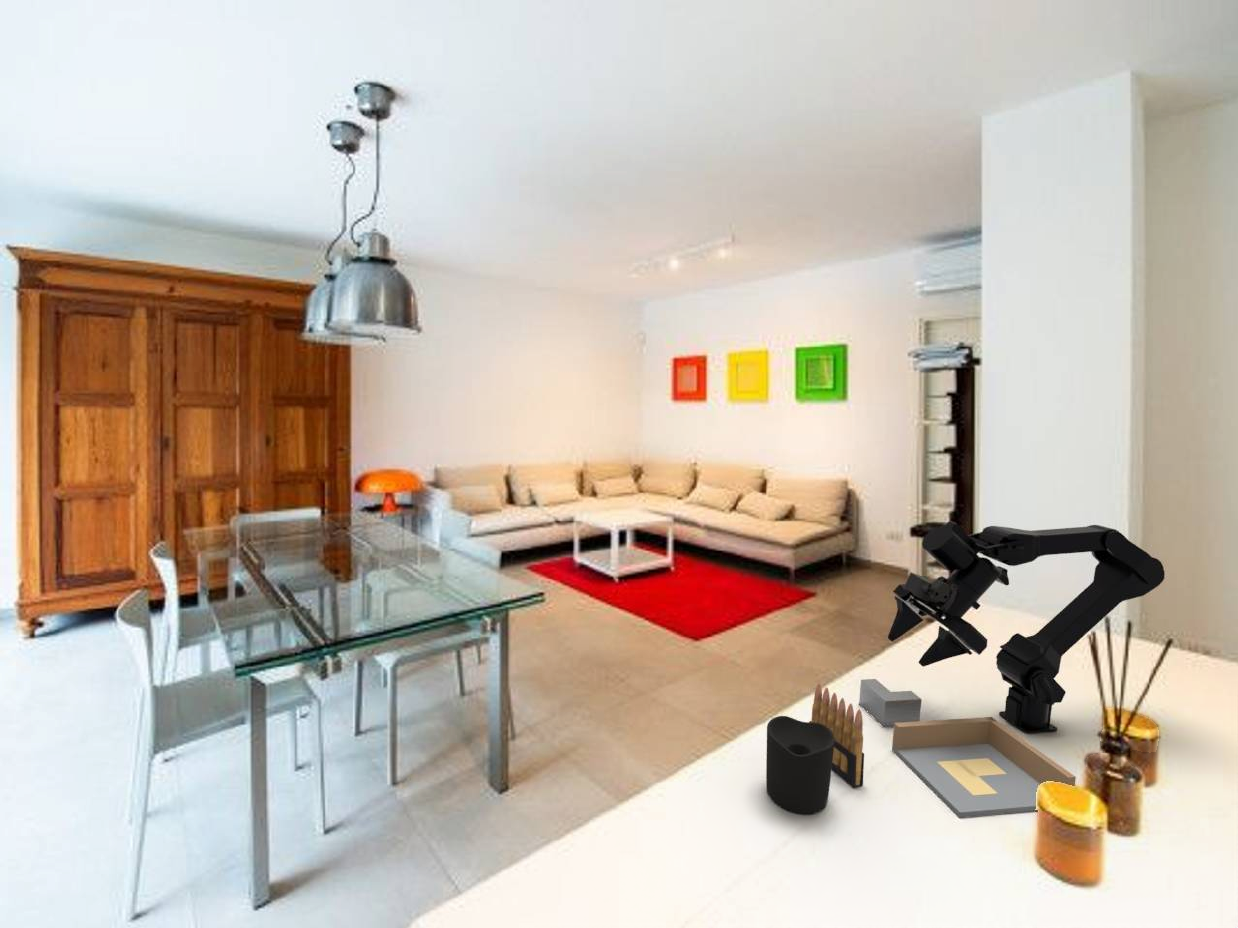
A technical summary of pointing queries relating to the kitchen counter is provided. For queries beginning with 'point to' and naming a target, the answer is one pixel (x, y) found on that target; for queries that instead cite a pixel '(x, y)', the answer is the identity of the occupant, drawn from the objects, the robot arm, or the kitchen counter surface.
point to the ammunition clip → (842, 735)
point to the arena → (976, 764)
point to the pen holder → (799, 764)
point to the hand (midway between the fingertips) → (904, 651)
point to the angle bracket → (889, 703)
